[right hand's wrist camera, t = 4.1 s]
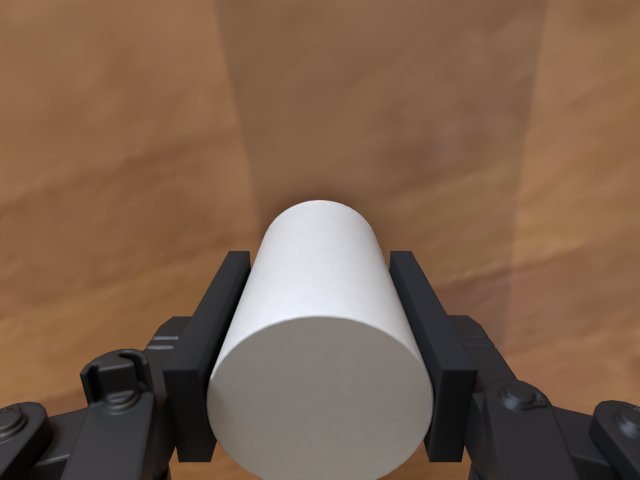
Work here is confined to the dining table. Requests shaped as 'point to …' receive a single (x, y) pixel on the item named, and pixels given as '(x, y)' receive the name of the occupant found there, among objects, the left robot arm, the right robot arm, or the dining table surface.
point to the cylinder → (320, 357)
